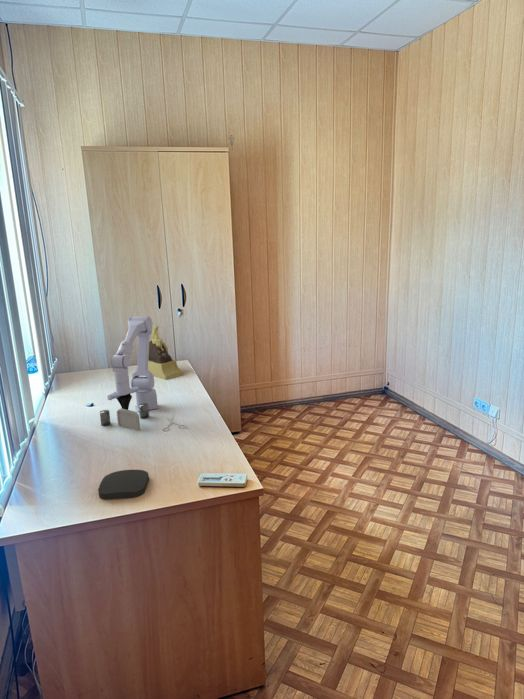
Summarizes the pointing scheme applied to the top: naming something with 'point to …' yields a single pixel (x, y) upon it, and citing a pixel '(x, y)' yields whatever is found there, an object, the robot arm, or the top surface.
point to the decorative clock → (161, 359)
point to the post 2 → (144, 411)
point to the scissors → (173, 423)
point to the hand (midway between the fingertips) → (125, 411)
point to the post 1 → (105, 417)
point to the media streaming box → (123, 484)
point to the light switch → (128, 419)
